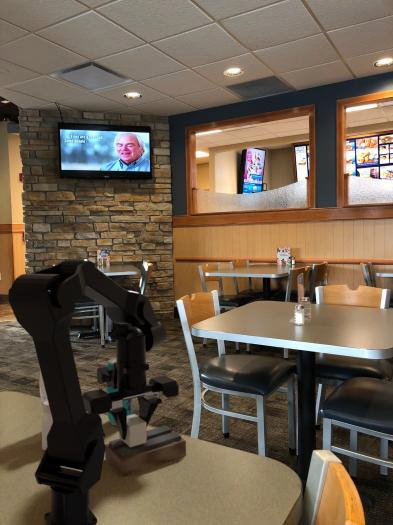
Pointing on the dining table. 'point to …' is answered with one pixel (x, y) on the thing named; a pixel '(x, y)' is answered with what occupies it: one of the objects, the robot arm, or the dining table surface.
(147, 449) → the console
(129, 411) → the beverage can
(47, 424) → the pepper shaker
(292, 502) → the dining table surface
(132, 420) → the block
